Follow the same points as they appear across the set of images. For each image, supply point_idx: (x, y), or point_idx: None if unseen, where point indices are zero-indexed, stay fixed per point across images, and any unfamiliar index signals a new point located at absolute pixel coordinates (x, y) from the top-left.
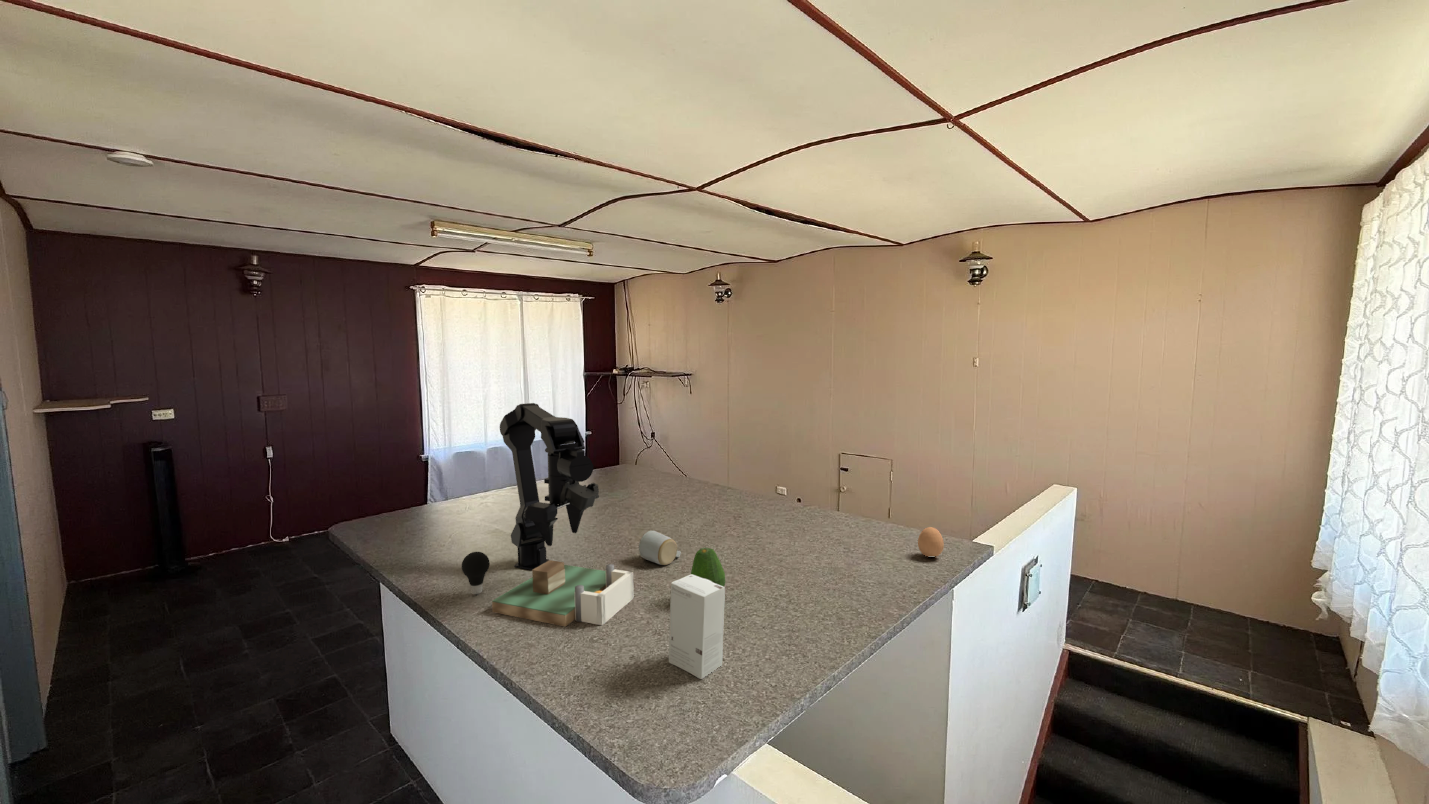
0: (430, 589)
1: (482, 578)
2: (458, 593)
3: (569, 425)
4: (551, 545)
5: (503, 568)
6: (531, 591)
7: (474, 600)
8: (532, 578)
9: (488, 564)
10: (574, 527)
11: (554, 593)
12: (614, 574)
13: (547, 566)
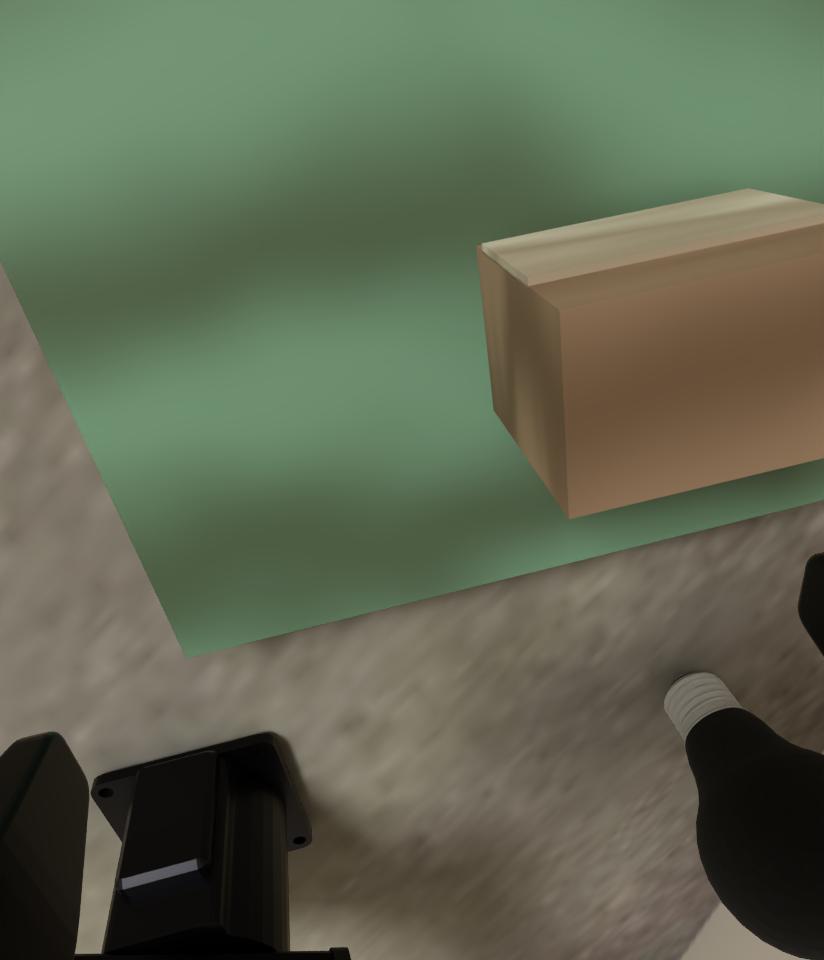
0: (695, 846)
1: (742, 735)
2: None
3: None
4: (821, 553)
5: (353, 849)
6: None
7: (740, 635)
8: (514, 562)
9: (780, 805)
10: (34, 869)
11: (701, 150)
12: None
13: (742, 387)
